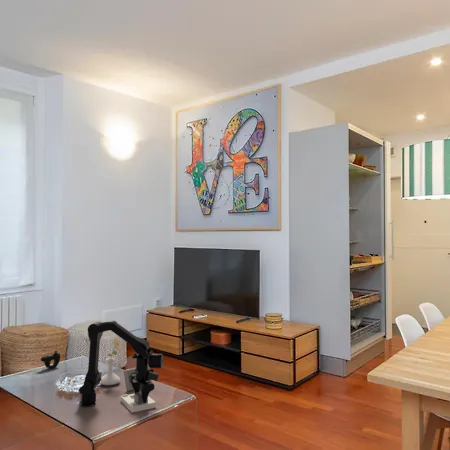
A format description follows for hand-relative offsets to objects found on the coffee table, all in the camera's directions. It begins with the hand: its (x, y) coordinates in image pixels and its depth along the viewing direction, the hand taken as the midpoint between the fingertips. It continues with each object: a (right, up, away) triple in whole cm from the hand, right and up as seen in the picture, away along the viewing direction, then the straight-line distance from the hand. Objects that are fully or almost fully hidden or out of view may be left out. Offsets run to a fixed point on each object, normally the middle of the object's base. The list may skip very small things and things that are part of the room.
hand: (140, 399), depth 203 cm
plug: (0, -4, 0) cm, 4 cm away
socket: (-2, -4, +3) cm, 5 cm away
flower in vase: (-23, -4, +32) cm, 40 cm away
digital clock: (-7, -5, +27) cm, 28 cm away
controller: (-68, -4, +57) cm, 88 cm away
